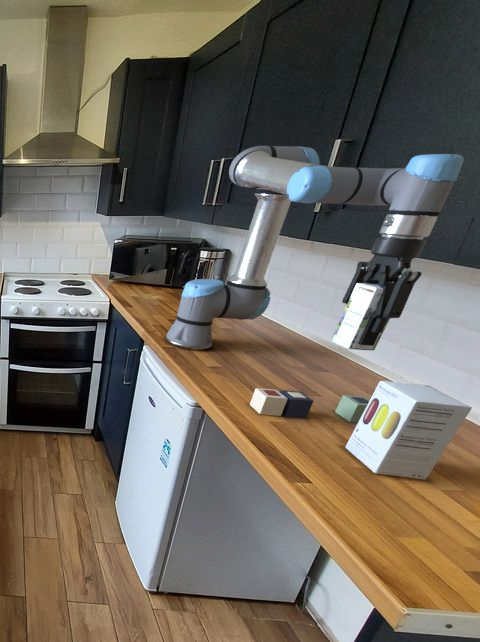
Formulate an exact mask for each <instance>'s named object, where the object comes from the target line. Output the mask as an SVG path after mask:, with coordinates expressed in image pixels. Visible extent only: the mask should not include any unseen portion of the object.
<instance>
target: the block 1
mask: <svg viewBox="0 0 480 642" xmlns="http://www.w3.org/2000/svg"><path fill="white" fill-rule="evenodd" d="M286 402H287V398H286V397H285V396H284V395H282V394H281V393H280V391H278V390H277V389H272V388H271V389H270V388H259V387H255V390H254V392H253V394H252V397H251V400H250V403H249V406H250V407H251V408H252V409H253V410H255V412H257V413H258V414H259V415H265V416H275V417H282V415H283V414H282V412H283V409H284V407H285V404H286Z"/></svg>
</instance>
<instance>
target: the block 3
mask: <svg viewBox="0 0 480 642" xmlns="http://www.w3.org/2000/svg"><path fill="white" fill-rule="evenodd" d="M369 401H370V399H369V398H367V397H365V396H361V395H360V396H358V395H347V394H343V395H342V396H341V399H340V401H339V403H338V404H337V407H336V409H335V411H334V412H335V413H336V414H337V415H339V416H340V417H341V418H343V419H344V420H345V421H347V422H349V423H356V424H358V422H359V420H360V418H361V416H362V414H363V412H364V411H365V409H366V407H367V405H368V403H369Z"/></svg>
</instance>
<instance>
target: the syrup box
mask: <svg viewBox="0 0 480 642" xmlns="http://www.w3.org/2000/svg"><path fill="white" fill-rule="evenodd" d="M382 292H383V288H381V287H380V286H379V284H365V283H357V284H356V286H355V288H354V290H353V292H352V294H351V297H350V299H349V301H348V304H347V305H346V306H345V308H344V311H343V313H342V315H341V317H340V320H339V322H338V323H337V326H336V328H335V331H334V332H333V335H332V337H331V340H330V341H331V342H332V343H334V344H336V345H338V346H340V347H343V348H346V349H348V350H359V351H371V352H372V351H375V350H376V348H377V346H378V344H379V341H380V339H381V338H382V336H383V334H384V333H385V330H386V328H387V325H388V324H389V322H390V320H391V318H390V319H388V321H387V323H386V325H385V326H384V328H383V331H382V332H381V333H379V335H378V337H377V340H376V342H375V344H374V346H369V345H360V344H358V343H359V341H360V338H361V336H362V334H363V332H364V330H365V328H366V325H367V323H368V321H369V319H370V317H371V315H375V313H376V308H377V303H378V301H379V299H380V297H381V295H382ZM383 312H384V311H383Z"/></svg>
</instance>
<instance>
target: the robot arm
mask: <svg viewBox="0 0 480 642" xmlns="http://www.w3.org/2000/svg"><path fill="white" fill-rule="evenodd" d="M464 161H465V160H464V157H463V155H461V154H457V153H455V154H454V153H431V154H429V153H428V154H419V155H415V156H413V157H411V159H409V162H408V164H407V165H406V166H405V167H399V168H397V167H395V168H394V167H393V168H383V167H381V168H379V167H378V168H377V167H347V166H346V167H345V166H343V167H342V166H328V165H322V164H320V157H319V155H318V152H317V151H316V150H315V149H314V148H312V147H307V146H298V145H297V146H296V145H295V146H289V145H285V146H284V145H256V146H252V147H248V148H247V149H244V150H242V151H241V152H239V154H238V155H236V156H235V157H234V159H233V160H232V161H231V164H230V166H229V169H228V175H229V179H230V180H231V182H232V183H233V184H234V185H236V186H238V187H241V188H248V189H255V192H254V196H255V197H256V199H257V203H256V206H255V208H254V209H255V210H254V212H253V217H252V218H251V222H250V224H249V228H248V231H247V234H246V237H245V240H244V243H243V246H242V249H241V253H240V256H239V259H238V262H237V265H236V268H235V271H234V274H233V275H231V276H229V277H227V280H226V283H224V281H222V280H220V279H213V278H211V279H210V278H199V279H192V280H189V281H187V282H186V283H185V285H184V287H183V290H182V293H181V296H180V297H181V298H180V302H179V305H178V309H177V314H176V318H175V320H174V322H173V324H172V325H171V327H170V328H169V329H168V332H167V333H166V336H165V338H164V339H165V341H166V342H167V343H168V344H169V345H172V346H174V347H177V348H180V349H185V350H190V351H208V350H210V349H211V348H212V345H213V336H212V335H213V334H212V325H213V321H214V318H215V319H230V320H231V319H232V320H239V321H243V320H255V319H258V317H260V316H262V315H263V314H264V313H265V311H266V310H267V309H268V307H269V304H270V301H271V292H270V289H269V288H268V287H267V286H268V283H267V282H266V280H265V276H266V273H267V270H268V268H269V264H270V261H271V260H272V259H271V258H272V256H273V253H274V250H275V247H276V245H277V242H278V239H279V236H280V233H281V230H282V229H283V225H284V223H285V220H286V217H287V214H288V211H289V209H290V206H291V203H292V202H294V203H301V204H336V205H355V206H367V207H372V206H379V207H381V206H384V207H385V206H389V208H388V210H387V213H386V216H385V218H384V220H383V223H382V225H381V227H380V229H379V232H378V233H379V234H380V235H381V236H377V237H376V238H375V241H374V243H373V244H372V247H371V250H370V253H371V255H373V256H372V258H371V259H370V260H368V261H358V262H357V264H356V268H355V269H356V270H355V272H354V275H353V277H352V279H351V281H350V284H349V285H348V288H347V290H346V292H345V293H344V296H343V298H342V301H341V303H342V304H345V305H346V306H347V304H348V301H349V299H350V297H351V294H352V292H353V290H354V288H355V286H356V284H357V283H365V284H379V286H380V287H381V288H383V292H382V295H381V297H380V299H379V301H378V303H377V308H376V313H375V315H371V317H370V319H369V321H368V323H367V325H366V328H365V330H364V332H363V334H362V336H361V338H360V341H359V343H358V344H360V345H369V346H374V344H375V342H376V340H377V337H378V335H379V333H381V332H382V331H383V328H384V326H385V325H386V323H387V321H388V319H390V320H391V319H399V318H401V316H402V314H403V311H404V309H405V307H406V305H407V302H408V300H409V297H410V296H411V293H412V291H413V288H414V287H415V284H416V283H417V281H418V280H419V278H421V276H422V271H417V270H413V269H411V267H412V261H413V259H416V258H418V257H419V256H420V255H421V252H422V251H423V249H424V246H425V245H426V240H425V239H424V238H427V237H429V236H431V233H432V230H433V228H434V226H435V224H436V222H437V220H438V217H439V215H440V213H441V211H442V209H443V206H444V205H445V202H446V201H447V199H448V197H449V195H450V194H451V190H452V189H453V187H454V185H455V182H456V181H457V180H458V179H459V178H458V176H459V174H460V171H461V168H462V166H463V163H464ZM383 311H384V312H383Z"/></svg>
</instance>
